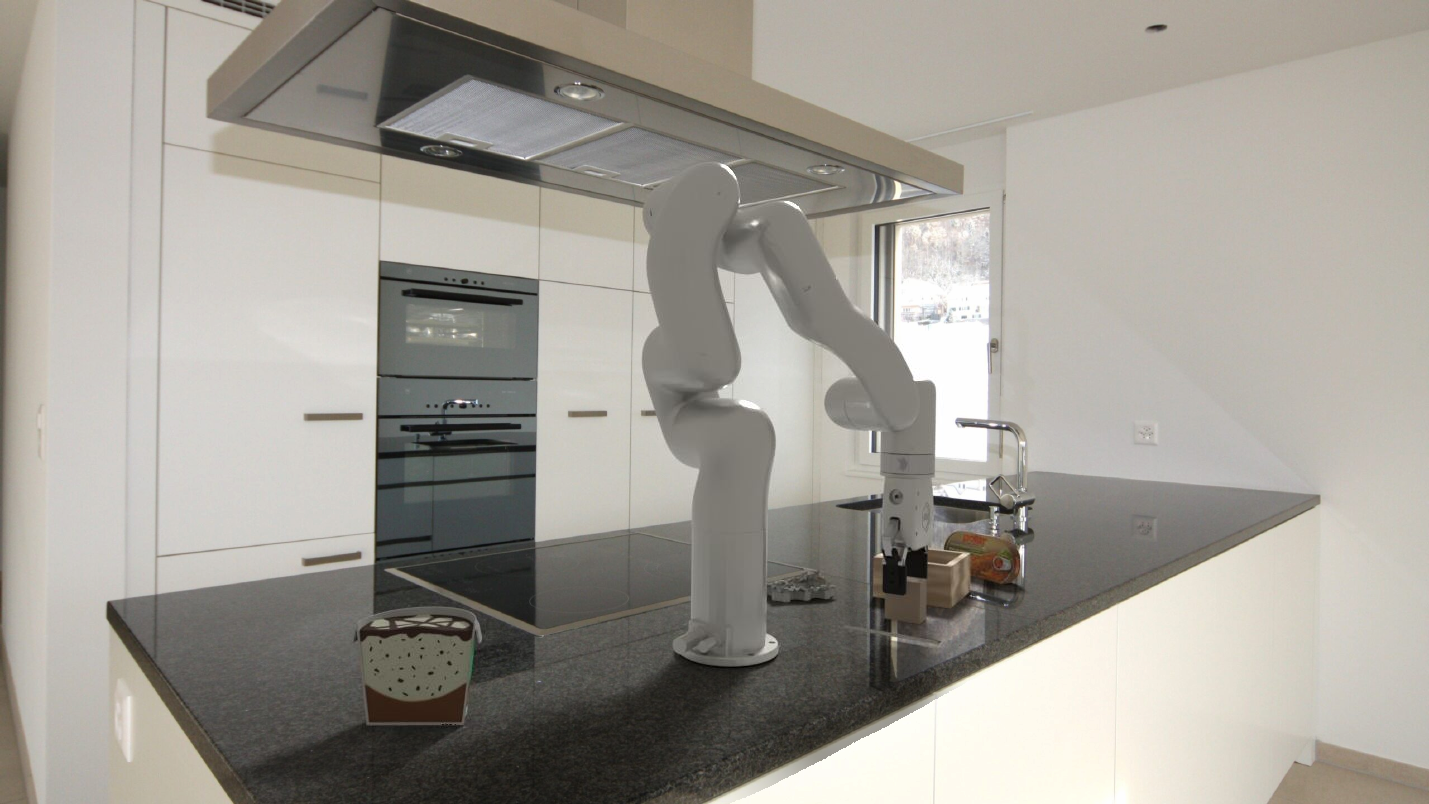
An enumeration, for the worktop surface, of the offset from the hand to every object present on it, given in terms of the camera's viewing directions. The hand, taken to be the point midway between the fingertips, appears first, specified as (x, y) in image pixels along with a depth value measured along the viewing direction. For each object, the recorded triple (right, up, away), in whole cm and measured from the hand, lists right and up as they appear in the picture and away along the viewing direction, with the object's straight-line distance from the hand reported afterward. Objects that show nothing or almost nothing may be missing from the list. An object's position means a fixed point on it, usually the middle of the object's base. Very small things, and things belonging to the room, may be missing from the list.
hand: (905, 586), depth 113 cm
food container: (-56, -5, -33) cm, 65 cm away
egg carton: (-14, -5, +12) cm, 19 cm away
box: (+6, -5, +14) cm, 16 cm away
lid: (0, -6, 0) cm, 6 cm away
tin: (+20, -5, +27) cm, 34 cm away
